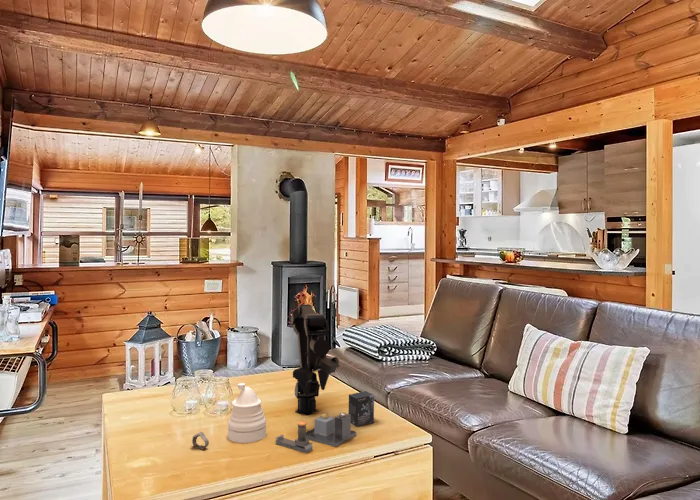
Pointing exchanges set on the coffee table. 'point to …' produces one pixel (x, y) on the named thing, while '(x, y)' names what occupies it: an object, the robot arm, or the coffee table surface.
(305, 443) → the lever
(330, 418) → the block
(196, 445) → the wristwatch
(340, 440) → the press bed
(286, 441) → the lever rail
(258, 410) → the honey pot
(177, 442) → the coffee table surface
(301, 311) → the robot arm
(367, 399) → the box
